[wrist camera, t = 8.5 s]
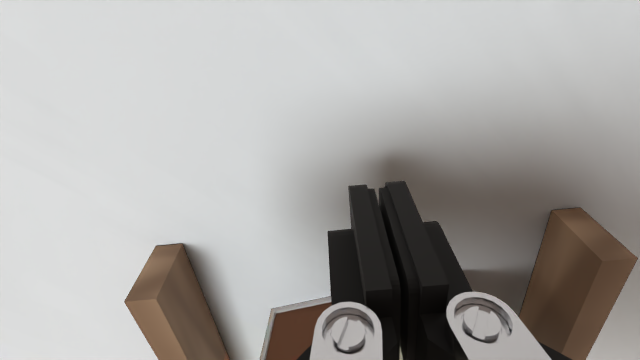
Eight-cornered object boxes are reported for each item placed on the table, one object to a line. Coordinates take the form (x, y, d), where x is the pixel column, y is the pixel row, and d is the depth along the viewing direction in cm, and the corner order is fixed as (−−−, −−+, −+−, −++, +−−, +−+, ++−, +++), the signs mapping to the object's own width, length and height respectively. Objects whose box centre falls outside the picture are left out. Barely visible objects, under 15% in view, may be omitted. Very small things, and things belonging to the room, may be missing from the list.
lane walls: (580, 207, 15) (637, 258, 12) (519, 377, 21) (547, 433, 19) (155, 246, 15) (124, 301, 13) (226, 398, 22) (215, 455, 19)
